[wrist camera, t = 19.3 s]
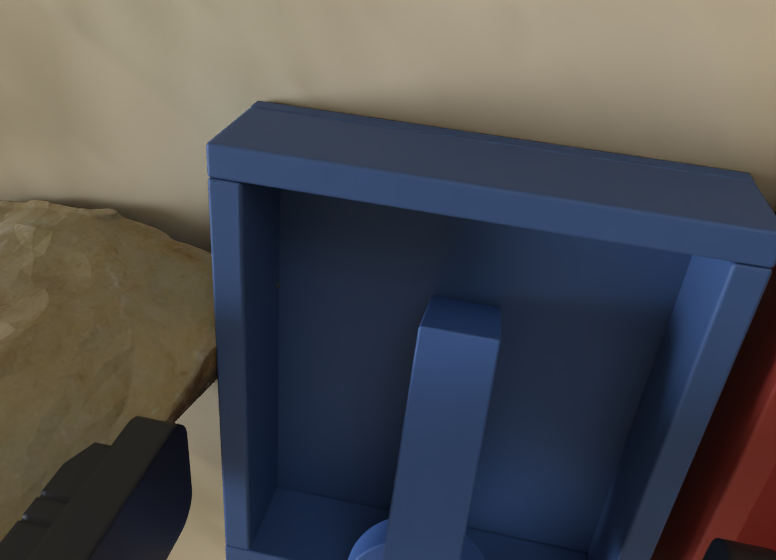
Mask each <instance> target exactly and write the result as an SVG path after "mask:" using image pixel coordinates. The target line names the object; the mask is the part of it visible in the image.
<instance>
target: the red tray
mask: <svg viewBox="0 0 776 560" xmlns="http://www.w3.org/2000/svg"><path fill="white" fill-rule="evenodd" d="M715 538H722V539H727V540H731V541H736V542H741V543H746V544H751V545H755V546H760V547H765V548H770V549H773V550H774V551H775V552H776V265H775V266H774V267H772V274H771V277H770V279H769V281H768V284H767V286H766V288H765V291H764V293H763V296H762V298H761V300H760V303H759V305H758V307H757V310H756V312H755V314H754V317H753V319H752V321H751V324H750V326H749V328H748V331H747V333H746V336H745V338H744V340H743V343H742V345H741V347H740V350H739V352H738V354H737V357H736V359H735V361H734V364H733V366H732V368H731V371H730V373H729V376H728V378H727V380H726V383H725V385H724V387H723V390H722V392H721V394H720V397H719V399H718V401H717V404H716V406H715V409H714V411H713V413H712V416H711V418H710V420H709V423H708V425H707V427H706V430H705V432H704V434H703V437H702V439H701V441H700V444H699V446H698V449H697V451H696V453H695V456H694V458H693V460H692V463H691V465H690V467H689V470H688V472H687V474H686V477H685V479H684V481H683V484H682V486H681V489H680V491H679V493H678V496H677V498H676V500H675V503H674V505H673V507H672V510H671V512H670V514H669V517H668V519H667V522H666V524H665V526H664V529H663V531H662V533H661V536H660V538H659V540H658V543H657V545H656V547H655V550H654V552H653V554H652V557H651V559H650V560H702V559H703V557H704V555H705V553H706V551H707V549H708V547H709V545H710V543H711V542H712V541H713V540H714V539H715Z"/></svg>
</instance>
